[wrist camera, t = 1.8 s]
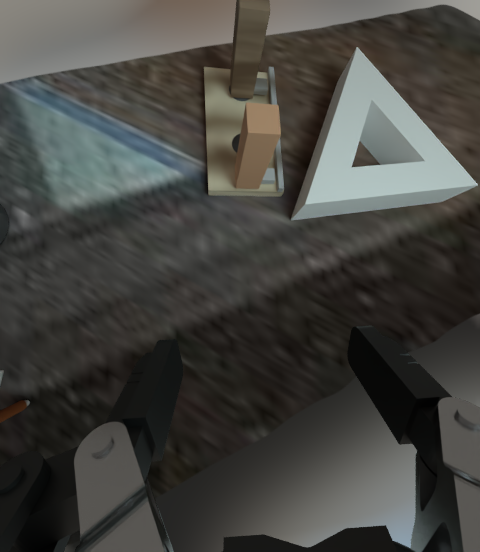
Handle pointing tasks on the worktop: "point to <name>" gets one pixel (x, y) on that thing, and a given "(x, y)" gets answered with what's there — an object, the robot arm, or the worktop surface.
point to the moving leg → (257, 145)
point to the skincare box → (0, 375)
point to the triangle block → (375, 152)
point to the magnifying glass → (13, 410)
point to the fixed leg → (248, 48)
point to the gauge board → (233, 134)
